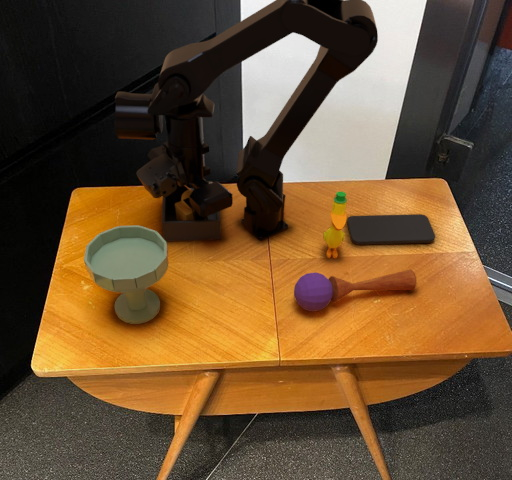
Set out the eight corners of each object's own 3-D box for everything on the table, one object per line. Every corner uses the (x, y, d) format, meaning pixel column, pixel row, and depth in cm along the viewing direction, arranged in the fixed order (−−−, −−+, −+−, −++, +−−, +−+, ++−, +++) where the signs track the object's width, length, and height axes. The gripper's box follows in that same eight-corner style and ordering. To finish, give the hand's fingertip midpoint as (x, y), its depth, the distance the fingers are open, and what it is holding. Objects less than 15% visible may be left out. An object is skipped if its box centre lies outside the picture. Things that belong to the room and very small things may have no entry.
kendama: (425, 283, 85) (305, 299, 80) (410, 305, 90) (296, 320, 85) (411, 253, 88) (293, 266, 83) (397, 276, 93) (286, 289, 88)
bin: (218, 204, 103) (217, 186, 100) (221, 239, 97) (220, 221, 94) (165, 206, 102) (162, 188, 99) (164, 241, 96) (161, 223, 93)
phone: (346, 215, 101) (426, 213, 101) (345, 219, 101) (425, 217, 102) (353, 242, 96) (437, 239, 96) (352, 245, 96) (435, 243, 97)
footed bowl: (152, 272, 91) (143, 216, 82) (187, 314, 85) (181, 258, 76) (88, 300, 87) (71, 243, 78) (121, 346, 81) (106, 290, 72)
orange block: (196, 210, 101) (194, 181, 96) (208, 222, 99) (206, 193, 94) (176, 218, 99) (173, 189, 95) (187, 230, 97) (184, 201, 93)
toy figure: (342, 268, 93) (354, 210, 83) (321, 267, 93) (330, 209, 83) (340, 242, 97) (351, 184, 88) (320, 241, 97) (328, 183, 88)
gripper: (113, 127, 89) (128, 207, 101) (169, 183, 79) (179, 264, 91) (173, 109, 93) (181, 187, 105) (234, 160, 83) (234, 240, 95)
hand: (192, 218), depth 99 cm, fingers open, 4 cm apart
